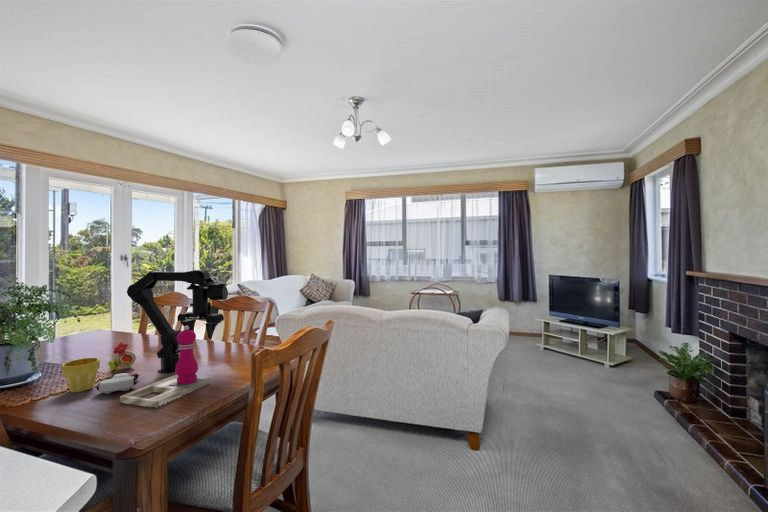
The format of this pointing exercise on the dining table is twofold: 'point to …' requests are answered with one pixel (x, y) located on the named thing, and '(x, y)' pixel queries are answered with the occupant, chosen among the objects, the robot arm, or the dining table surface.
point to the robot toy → (117, 383)
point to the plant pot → (81, 373)
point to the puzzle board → (165, 387)
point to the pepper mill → (186, 357)
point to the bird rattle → (126, 359)
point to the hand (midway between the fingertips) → (200, 338)
